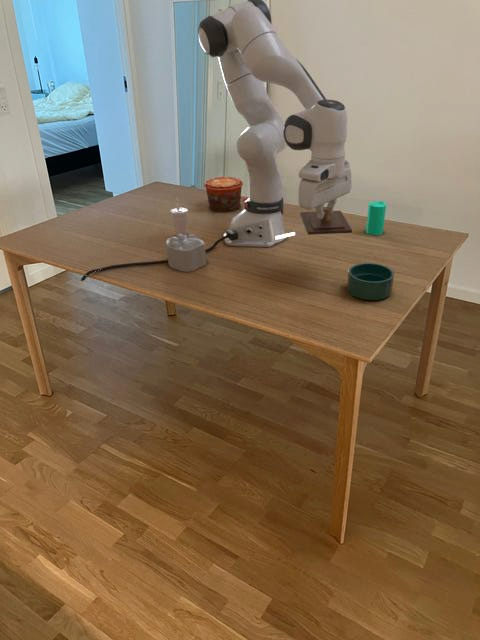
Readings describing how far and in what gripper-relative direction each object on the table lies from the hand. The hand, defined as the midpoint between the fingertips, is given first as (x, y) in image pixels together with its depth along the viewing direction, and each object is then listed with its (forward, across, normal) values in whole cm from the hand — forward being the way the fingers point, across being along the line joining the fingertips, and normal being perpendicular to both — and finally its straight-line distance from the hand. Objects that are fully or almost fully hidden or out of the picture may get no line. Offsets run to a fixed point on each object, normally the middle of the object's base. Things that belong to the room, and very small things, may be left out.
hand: (324, 216), depth 139 cm
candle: (+19, -41, -7) cm, 46 cm away
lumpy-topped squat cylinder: (+19, +20, -40) cm, 49 cm away
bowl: (+19, -1, +16) cm, 25 cm away
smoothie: (+19, +5, -59) cm, 62 cm away
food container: (+19, -27, -69) cm, 77 cm away
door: (+2, 0, 0) cm, 2 cm away
